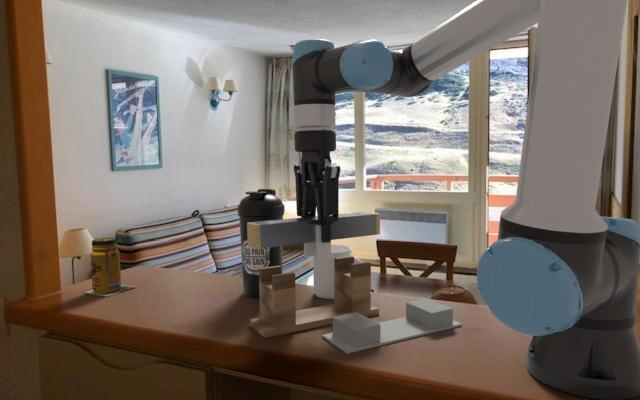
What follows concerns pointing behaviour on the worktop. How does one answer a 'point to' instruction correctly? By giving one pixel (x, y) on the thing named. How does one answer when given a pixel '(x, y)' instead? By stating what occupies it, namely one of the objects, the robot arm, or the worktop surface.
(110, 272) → the condiment
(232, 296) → the worktop surface
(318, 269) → the mug
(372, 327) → the rest
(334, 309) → the rack
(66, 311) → the worktop surface
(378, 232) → the rail
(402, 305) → the worktop surface
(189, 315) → the worktop surface
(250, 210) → the water bottle
